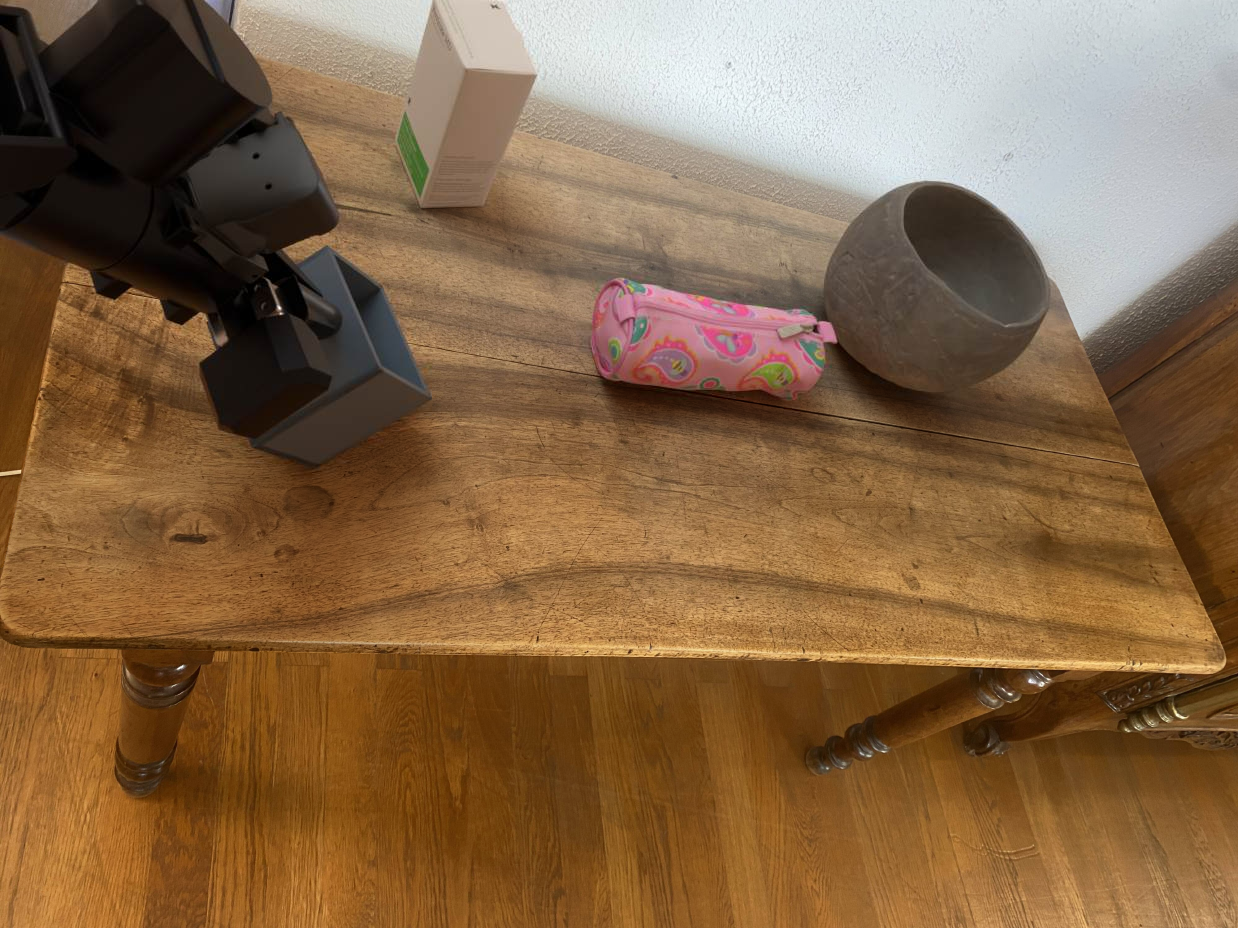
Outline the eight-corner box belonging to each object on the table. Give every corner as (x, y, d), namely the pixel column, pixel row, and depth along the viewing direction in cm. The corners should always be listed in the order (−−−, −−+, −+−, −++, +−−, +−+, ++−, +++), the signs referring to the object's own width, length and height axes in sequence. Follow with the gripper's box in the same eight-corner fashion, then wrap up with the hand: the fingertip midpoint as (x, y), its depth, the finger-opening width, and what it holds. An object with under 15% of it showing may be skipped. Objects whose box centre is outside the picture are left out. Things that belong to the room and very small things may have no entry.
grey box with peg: (200, 431, 51) (339, 346, 50) (154, 297, 54) (283, 212, 53) (316, 469, 62) (432, 399, 61) (272, 354, 65) (382, 286, 64)
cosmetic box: (392, 142, 80) (428, -11, 68) (460, 143, 84) (505, -3, 71) (421, 212, 78) (463, 66, 65) (489, 210, 81) (541, 71, 69)
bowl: (914, 270, 103) (1008, 177, 91) (986, 423, 94) (1100, 343, 83) (768, 256, 94) (851, 151, 82) (833, 425, 85) (937, 334, 73)
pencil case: (776, 343, 88) (827, 286, 80) (797, 421, 83) (853, 368, 76) (576, 315, 79) (614, 248, 72) (589, 400, 75) (630, 339, 68)
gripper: (301, 274, 36) (482, 370, 51) (176, -31, 42) (371, 133, 56) (111, 412, 39) (336, 466, 53) (17, 106, 44) (243, 230, 59)
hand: (323, 316), depth 55 cm, fingers closed on grey box with peg, 2 cm apart
